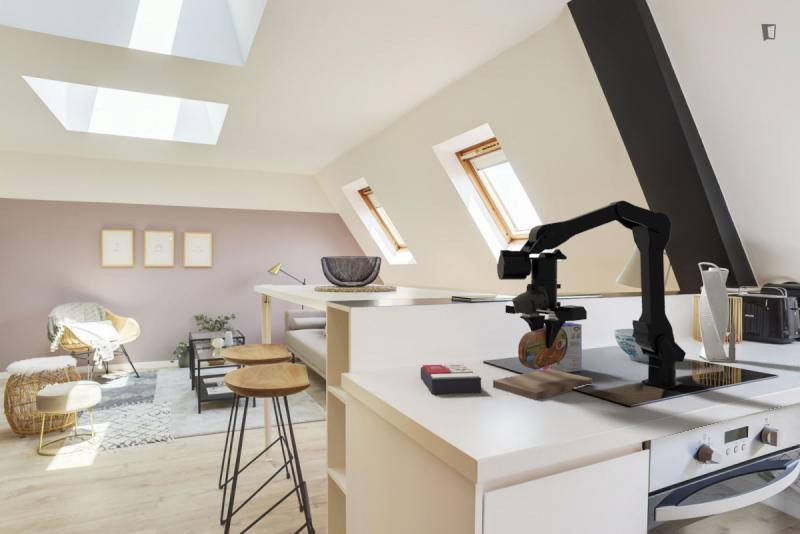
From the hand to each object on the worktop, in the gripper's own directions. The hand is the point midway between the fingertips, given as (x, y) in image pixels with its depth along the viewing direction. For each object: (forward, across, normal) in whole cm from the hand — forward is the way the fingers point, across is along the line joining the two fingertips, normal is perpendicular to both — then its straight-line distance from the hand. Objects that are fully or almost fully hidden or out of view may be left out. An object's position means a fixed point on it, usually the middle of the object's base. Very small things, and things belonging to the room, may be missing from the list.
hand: (543, 347), depth 112 cm
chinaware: (+9, -2, +47) cm, 48 cm away
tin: (+4, 0, 0) cm, 4 cm away
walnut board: (+9, 0, 0) cm, 9 cm away
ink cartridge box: (+9, -7, +16) cm, 20 cm away
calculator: (+9, -13, -17) cm, 24 cm away
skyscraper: (+9, +10, +64) cm, 65 cm away
